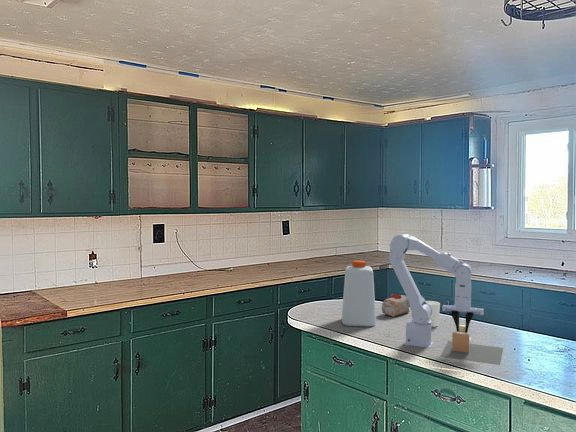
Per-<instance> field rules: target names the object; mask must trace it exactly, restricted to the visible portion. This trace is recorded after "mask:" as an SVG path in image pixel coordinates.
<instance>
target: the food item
mask: <svg viewBox="0 0 576 432" xmlns="http://www.w3.org/2000/svg"><path fill="white" fill-rule="evenodd" d="M381 312H382V313H383V314H384V315H385V316H389V317H392V318H395V317H398V316H401V315H404V314H405V315H406V314H408V313H410V304H409V300H408V298H407V296H406V295H404V294H401V295H400V294H399V293H396V294H394V293H391V295H390V297H389V298H386V299H384V300H383V301H382V302H381Z"/></svg>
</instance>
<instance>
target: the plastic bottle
mask: <svg viewBox="0 0 576 432" xmlns="http://www.w3.org/2000/svg"><path fill="white" fill-rule="evenodd" d="M373 270H374V269H373V268H372V267H371V266H369V265H367V262H366V261H365V260H363V259H362V260H360V259H358V260H357V259H356V260H353V261H352V262H351V265H348V266H346V267H345V271H344V281H343V282H344V285H343V295H342V296H343V297H342V309H341V310H342V311H341V322H342V323H341V324H343V325H344V326H349V327H365V328H366V327H367V328H369V327H373V326H375V325H377V315H376V313H377V312H376V299H375V298H376V297H375V296H376V295H375V282H374V271H373Z"/></svg>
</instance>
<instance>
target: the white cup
mask: <svg viewBox="0 0 576 432" xmlns="http://www.w3.org/2000/svg"><path fill="white" fill-rule="evenodd" d="M425 301H426V303H427V304H429V305H430V306H431V308H432V315H431V316H430V317H429V318H430V320H431V328H436V327H438V326H439V321H440V311H441V309H440V307H441V303H440V301H436V300H435V301H434V300H425Z"/></svg>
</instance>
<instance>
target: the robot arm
mask: <svg viewBox="0 0 576 432" xmlns="http://www.w3.org/2000/svg"><path fill="white" fill-rule="evenodd" d="M407 251H417V252H420V253H421V254H423V255H425V256H427V257H429V258H431V259H433V260H434V261H435V262H436V265H437V266H438V267H439V268H441V269H444V270H445V271H446V272H449V273H450V274H453V275H454V277H455V283H454V285H455V286H454V287H455V288H454V304H453V305H452V304H451V305H448V304H443V305H442V307H441V309H442V312H451V314H450V315H451V317H452V319H453V322H454V325H455V328H456V332H459V325H460V314H461V313H464V314H465V313H466V314H465V325H466V327H465V333H469V327H470V323H471V321H472V319H473V318H474V315H480V316H484V308H479V307H473V306H472V274H473V268H472V266H471V265H470V264H469V263H468V262H464V261H463V260H461V259H460V260H459V259H458V258H456V257H455V256H453V255H452V253H451V252H448V253H447V252H439V251H438V250H436V249H434V248H433V247H431V246H430V245H428V244H427V243H425V242H424V241H422V240H420V239H419V238H417V237H415V236H414V235H410V234H409V233H407V232H403V233H400V234H397V235H395V236H393V238H392V240H391V241H390V243H389V256H388V257H389V258H388V259H389V260H388V261H389V262H390V265H391V267H392V269H393V271H394V273H395V275H396V277H397V280H398V281H399V283H400V285H401V287H402V289H403V291H404V293H405V296H406V297H407V298H408V300H409V310H410V312H411V318H412V319H411V320H407V321H406V323H405V324H406V326H405V346H413V347H422V348H427V349H430V348H431V347H432V345H433V344H434V341H433V340H432V327H431V320H430V318H429V317H430V316H431V315H432V308H431V306H430V305H429V304H427V303H426V301H427V300H426V299H425V298H424V297H423V296H422V295H421V292H420V290H419V289H418V286H417V284H416V283H415V280H414V278H413V276H412V274H411V271H410V270H409V268H408V266H407V265H406V261H405V260H404V259H405V256H406V253H407Z"/></svg>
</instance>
